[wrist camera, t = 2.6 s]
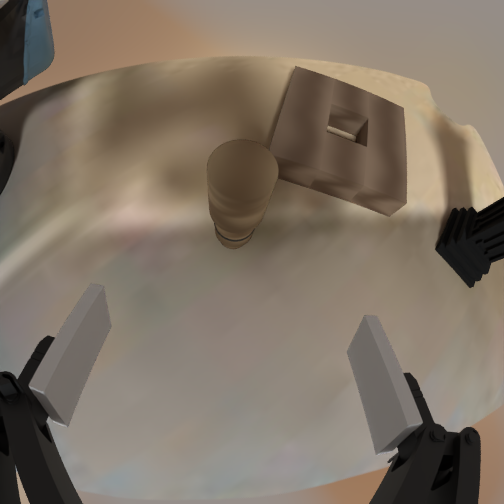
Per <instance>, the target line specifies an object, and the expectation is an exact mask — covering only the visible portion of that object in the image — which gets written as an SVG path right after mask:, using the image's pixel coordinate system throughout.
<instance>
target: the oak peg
mask: <svg viewBox="0 0 504 504" xmlns="http://www.w3.org/2000/svg"><path fill="white" fill-rule="evenodd" d="M207 178H208V196H209V210H210V215H211V218H212V220H213V221H214V225H215V233H216V236H217V238H218V239H219V241H220V242H221V243H222V244H223V245H224V246H225V247H227V248H230V249H237V248H240V247H241V246H242V245H244V244H246V243H247V242H248V241H249V240H250V238H251V236H252V233H253V231H254V229H255V227H257V226H258V225H259V223H260V222H261V220H262V218H263V216H264V213H265V210H266V208H267V205H268V202H269V200H270V197H271V194H272V192H273V189H274V186H275V184H276V181H277V178H278V164H277V161H276V159H275V157H274V156H273V154H272V153H271V152H270V151H269V150H268V149H267V148H266V147H264V146H263V145H261V144H259V143H257V142H254V141H250V140H233V141H229V142H226V143H224V144H222V145H221V146H219V147H218V148H216V149H215V150H214V152H213V153H212V154H211V156H210V158H209V160H208V164H207Z"/></svg>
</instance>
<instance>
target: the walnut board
mask: <svg viewBox="0 0 504 504" xmlns="http://www.w3.org/2000/svg"><path fill="white" fill-rule="evenodd" d="M328 126H331V127H334V128H337V129H339V130H342V131H345V132H347V133H350V134H352V135H355V136H357V138H356V143H355V142H353V141H350V140H348V139H345V138H342V137H340V136H337V135H334V134H331V133H329V132H327V127H328ZM269 151H270V152H271V153H272V154H273V156H274V157H275V159H276V161H277V164H278V178H279V179H282V180H285V181H289V182H292V183H295V184H298V185H301V186H304V187H307V188H311V189H314V190H317V191H320V192H323V193H326V194H328V195H331V196H334V197H337V198H340V199H343V200H346V201H349V202H351V203H354V204H357V205H360V206H362V207H365V208H368V209H370V210H373V211H376V212H378V213H381V214H384V215H386V216H389V217H390V216H391V215H392V214H393V213H395V212H396V211H397V210H399V209H400V208H401V207H403V206H404V205H405V204H406V203H407V156H406V133H405V119H404V108H403V107H401V106H399V105H396V104H394V103H392V102H390V101H388V100H386V99H384V98H381V97H379V96H377V95H374V94H372V93H370V92H367V91H365V90H363V89H360V88H358V87H355V86H353V85H350V84H347V83H345V82H342V81H339V80H337V79H334V78H331V77H328V76H325V75H322V74H319V73H316V72H313V71H310V70H307V69H304V68H300V67H297V66H295V69H294V72H293V75H292V79H291V82H290V85H289V88H288V91H287V94H286V97H285V100H284V103H283V107H282V110H281V113H280V116H279V119H278V122H277V125H276V129H275V132H274V135H273V138H272V141H271V144H270V148H269Z"/></svg>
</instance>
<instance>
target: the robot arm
mask: <svg viewBox="0 0 504 504" xmlns="http://www.w3.org/2000/svg"><path fill="white" fill-rule="evenodd" d="M53 59H54V43H53V36H52V29H51V23H50V16H49V10H48V3H47V0H0V100H1V99H3V98H4V97H5V96H7V95H8V94H10V93H11V92H13V91H14V90H16V89H17V88H19V87H20V86H22V85H26V84H27V83H28V81H29V80H30V79H32V78H33V77H35V76H36V75H38V74H39V73H41V72H43V71H44V70H46V69H47V68H48V67H49V66H50V65H51V63H52V61H53ZM13 158H14V148H13V144H12V142H11V140H10V139H9V138H8V137H7V136H6V134H5V133H4V132H3V131H1V130H0V193H1V191H2V190H3V188H4V186H5V184H6V181H7V179H8V177H9V174H10V171H11V168H12V164H13ZM110 329H111V321H110V316H109V311H108V306H107V300H106V295H105V289H104V286H103V285H97V284H92V283H91V284H90V285H89V287H88V288H87V290H86V291H85V293H84V294H83V296H82V297H81V298H80V300H79V301H78V303H77V304H76V306H75V307H74V309H73V311H72V312H71V314H70V315H69V317H68V318H67V320H66V321H65V323H64V325H63V326H62V328H61V329H60V331H59V333H58V334H57V336H56V337H51V336H46V337H45V338H44V339H43V340H41V341H40V342H39V344H38V345H37V347H36V349H35V350H34V352H33V354H32V355H31V358H30V359H29V360H28V362H27V364H26V365H25V367H24V369H23V371H22V372H21V374H20V376H19V378H18V380H17V379H16V377H15V376H14V375H13V374H12V373H10V372H7V371H4V372H0V504H21V502H20V497H19V490H18V484H17V477H16V468H17V471H18V474H19V477H20V480H21V482H22V485H23V488H24V490H25V493H26V496H27V498H28V500H29V503H30V504H83V503H82V501H81V499H80V498H79V496H78V494H77V492H76V490H75V488H74V486H73V484H72V482H71V480H70V477H69V475H68V473H67V471H66V469H65V467H64V464H63V462H62V460H61V457H60V455H59V452H58V450H57V447H56V445H55V442H54V440H53V437H52V434H51V431H50V429H49V426H48V424H47V422H46V421H47V418H48V416H49V417H50V418H51V419H52V421H53V422H55V423H57V424H60V425H62V426H65V427H68V426H69V423H70V421H71V418H72V415H73V413H74V410H75V408H76V405H77V403H78V400H79V398H80V395H81V393H82V390H83V388H84V386H85V383H86V381H87V379H88V376H89V374H90V372H91V369H92V367H93V365H94V363H95V360H96V358H97V356H98V354H99V352H100V350H101V347H102V345H103V343H104V341H105V339H106V337H107V335H108V333H109V331H110ZM347 354H348V357H349V360H350V363H351V367H352V370H353V373H354V376H355V380H356V383H357V386H358V390H359V393H360V397H361V400H362V404H363V407H364V411H365V414H366V418H367V422H368V425H369V429H370V433H371V437H372V441H373V444H374V448H375V452H376V455H379V454H385V453H390V452H391V451H393V450H394V449H395V448H396V447H397V448H398V453H397V454H395V455H394V456H393V457H392V458H391V459H389V461H388V463H390V462H391V461H392V463H391V465H390V467H389V469H388V471H387V473H386V475H385V477H384V479H383V481H382V482H381V484H380V486H379V488H378V490H377V491H376V493H375V495H374V496H373V498H372V500H371V501H370V503H369V504H478V497H479V485H480V462H481V456H480V455H481V450H480V449H481V448H480V447H481V446H480V445H481V443H480V436H479V434H478V432H477V431H476V430H475V429H474V428H472V427H466V428H464V429H463V430H462V431H461V432H460V433H456V432H447V431H446V430H445V429H444V427H442V426H441V425H439V424H436V423H434V421H433V418H432V416H431V413H430V411H429V408H428V406H427V404H426V401H425V399H424V398H423V394H422V392H421V391H420V387H419V385H418V383H417V380H416V379H415V378H414V377H413V376H412V375H411V374H410V373H403V372H402V369H401V367H400V365H399V362H398V360H397V358H396V356H395V353H394V351H393V349H392V347H391V345H390V342H389V340H388V338H387V336H386V334H385V332H384V330H383V327H382V325H381V323H380V321H379V319H378V317H377V316H370V315H364V317H363V319H362V321H361V324H360V326H359V328H358V330H357V332H356V334H355V336H354V338H353V340H352V342H351V344H350V346H349V348H348V350H347ZM15 465H16V468H15Z"/></svg>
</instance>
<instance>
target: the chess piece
mask: <svg viewBox="0 0 504 504" xmlns="http://www.w3.org/2000/svg"><path fill="white" fill-rule="evenodd" d="M436 251H437V252H438V253H439V254H440V255H441V256H442V257H443V259H444V260H445V261H446V262H447V263H448V264H449V265H450V266H451V267H452V268H453V269H454V271H455V272H456V273H457V274H458V275H459V276H460V277H461V278H462V280H463V281H464V282H465V283H466V284H467V285H468V287H469V288H471V287H474V284H475V281H480V280H481V278H482V275H483V274H484V275H485V274H488V272H489V269H490V265H491V263H492V262H495V261H498V260H500V259H503V258H504V197H503V198H501V199H499V200H498V201H496V202H494V203H493V204H491V205H489V206H488V207H486V208H484V209H483V210H481V211H479V212H478V213H477V212H476V210H475V209H474V208H473V207H470V208H469V209H468V211H467V210H466V209H465V208H464V207H463V208H461V209H460V211H458V210H457V209H456V208H454V209H453V210H452V212H451V214H450V217H449V219H448V222H447V224H446V227H445V229H444V231H443V234H442V236H441V238H440V241H439V243H438V245H437V247H436Z"/></svg>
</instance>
